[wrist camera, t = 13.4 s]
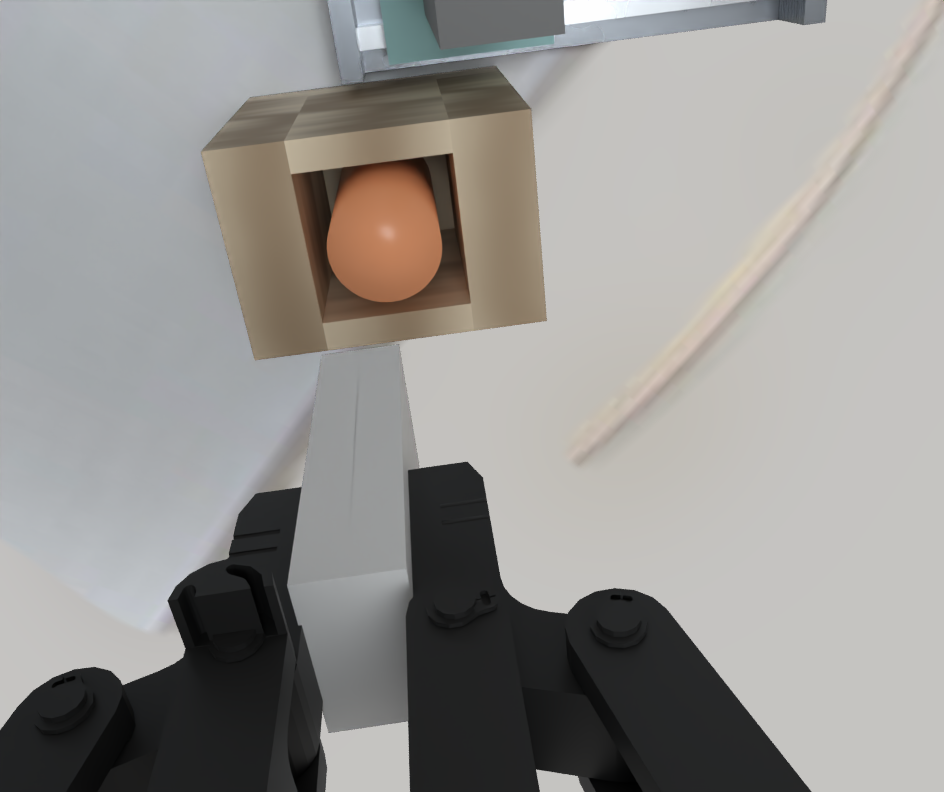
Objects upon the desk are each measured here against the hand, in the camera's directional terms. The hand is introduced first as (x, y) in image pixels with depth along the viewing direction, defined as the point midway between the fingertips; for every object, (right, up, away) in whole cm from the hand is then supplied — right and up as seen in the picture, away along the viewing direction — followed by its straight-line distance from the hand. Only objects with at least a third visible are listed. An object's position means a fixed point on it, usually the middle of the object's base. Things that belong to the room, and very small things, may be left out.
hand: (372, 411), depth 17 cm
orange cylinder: (-1, +9, +17) cm, 19 cm away
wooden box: (-2, +10, +19) cm, 22 cm away
